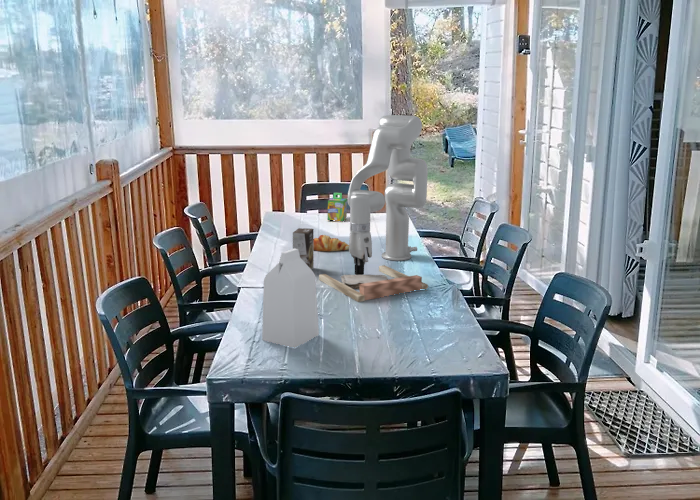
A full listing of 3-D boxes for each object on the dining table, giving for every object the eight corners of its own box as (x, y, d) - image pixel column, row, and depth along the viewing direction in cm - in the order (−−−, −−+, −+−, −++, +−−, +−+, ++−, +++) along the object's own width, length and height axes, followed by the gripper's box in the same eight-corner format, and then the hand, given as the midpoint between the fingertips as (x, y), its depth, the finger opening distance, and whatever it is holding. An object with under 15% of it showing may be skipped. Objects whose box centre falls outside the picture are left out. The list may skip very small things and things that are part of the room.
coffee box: (308, 274, 253) (308, 233, 249) (292, 272, 255) (291, 232, 251) (314, 267, 262) (314, 228, 258) (298, 266, 263) (298, 227, 259)
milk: (294, 348, 182) (293, 258, 175) (262, 340, 188) (260, 252, 181) (319, 335, 192) (319, 249, 185) (287, 327, 198) (286, 243, 191)
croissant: (350, 256, 294) (351, 239, 296) (348, 251, 284) (350, 233, 286) (303, 253, 295) (305, 236, 297) (300, 248, 286) (302, 230, 288)
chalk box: (327, 221, 350) (327, 194, 347) (330, 218, 359) (330, 191, 356) (344, 222, 349) (344, 194, 345) (347, 218, 358) (347, 192, 354)
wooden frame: (384, 270, 260) (384, 257, 259) (427, 289, 236) (428, 276, 234) (319, 279, 246) (319, 267, 245) (358, 302, 221) (358, 287, 220)
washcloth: (339, 281, 247) (339, 273, 246) (386, 280, 249) (387, 272, 248) (342, 290, 235) (342, 282, 235) (391, 289, 237) (392, 281, 236)
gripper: (379, 230, 239) (378, 278, 244) (358, 222, 252) (358, 268, 256) (361, 232, 236) (360, 280, 240) (341, 224, 248) (341, 270, 253)
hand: (359, 274), depth 248 cm, fingers closed
